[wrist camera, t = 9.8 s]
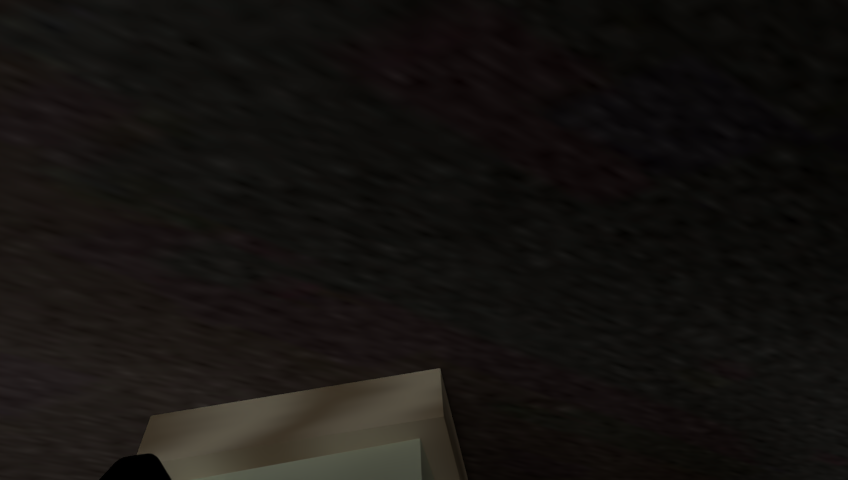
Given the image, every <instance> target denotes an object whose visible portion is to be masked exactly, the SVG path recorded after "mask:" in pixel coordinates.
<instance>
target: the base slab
mask: <svg viewBox="0 0 848 480" xmlns="http://www.w3.org/2000/svg"><path fill="white" fill-rule="evenodd" d="M419 438H420V439H421V442H422V445H423V448H424V451H425V454H426V457H427V460H428V463H429V465H430V468H431V471H432V474H433V477H434V480H468V478H467V474H466V470H465V466H464V462H463V458H462V454H461V450H460V446H459V442H458V438H457V434H456V430H455V426H454V422H453V418H452V414H451V410H450V406H449V402H448V398H447V394H446V390H445V386H444V382H443V378H442V374H441V370H440V368H439V369H433V370H427V371H421V372H415V373H409V374H402V375H396V376H390V377H384V378H378V379H372V380H366V381H360V382H354V383H348V384H342V385H336V386H330V387H324V388H318V389H312V390H306V391H299V392H293V393H287V394H281V395H275V396H269V397H263V398H257V399H251V400H245V401H239V402H233V403H227V404H221V405H215V406H209V407H203V408H196V409H190V410H184V411H178V412H172V413H166V414H160V415H154V416H151V418H150V420H149V423H148V426H147V428H146V431H145V434H144V436H143V439H142V442H141V445H140V447H139V450H138V453H137V455H140V454H146V453H151V454H154V455H155V456H157V457H158V458H159V460H160V461H161V463H162V465H163V466H164V468H165V469H166V471H167V473H168V474H169V476H170V478H171V479H172V480H193V479H198V478H204V477H209V476H215V475H220V474H226V473H231V472H237V471H242V470H248V469H253V468H259V467H264V466H270V465H275V464H281V463H286V462H292V461H298V460H303V459H309V458H314V457H320V456H325V455H331V454H336V453H342V452H347V451H353V450H358V449H364V448H369V447H375V446H380V445H386V444H391V443H397V442H402V441H408V440H413V439H419Z"/></svg>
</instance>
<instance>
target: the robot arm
mask: <svg viewBox="0 0 848 480" xmlns="http://www.w3.org/2000/svg"><path fill="white" fill-rule="evenodd" d="M99 480H172V479H171V478H170V476H169V474H168V473H167V471H166V469H165V468H164V466H163V465H162V463H161V461H160V460H159V458H158V457H157V456H155V455H154V454H151V453H146V454H140V455H134V456H128V457H123V458H121V459H119V460H118V461H116V462H115V463H114V464H113V465H112V466H111V467H110V469H109V470H108V471H107V472H106V473H105V474H104V475H103V476H102V477H101V478H100V479H99Z"/></svg>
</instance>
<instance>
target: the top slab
mask: <svg viewBox="0 0 848 480" xmlns="http://www.w3.org/2000/svg"><path fill="white" fill-rule="evenodd" d="M193 480H434V477H433V474H432V471H431V468H430V465H429V463H428V460H427V457H426V454H425V451H424V448H423V445H422V442H421V439H420V438H419V439H413V440H408V441H402V442H397V443H391V444H386V445H380V446H375V447H369V448H364V449H358V450H353V451H347V452H342V453H336V454H331V455H325V456H320V457H314V458H309V459H303V460H298V461H292V462H286V463H281V464H275V465H270V466H264V467H259V468H253V469H248V470H242V471H237V472H231V473H226V474H220V475H215V476H209V477H204V478H198V479H193Z"/></svg>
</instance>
